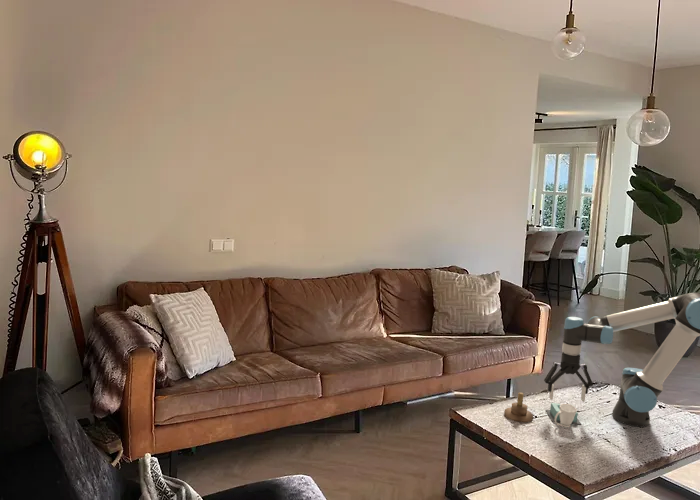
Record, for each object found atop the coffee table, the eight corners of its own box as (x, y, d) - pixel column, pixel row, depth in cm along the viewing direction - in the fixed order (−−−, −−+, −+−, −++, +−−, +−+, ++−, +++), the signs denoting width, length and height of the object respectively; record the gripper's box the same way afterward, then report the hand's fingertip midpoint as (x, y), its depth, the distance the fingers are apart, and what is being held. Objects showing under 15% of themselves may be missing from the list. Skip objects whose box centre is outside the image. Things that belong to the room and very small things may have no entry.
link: (576, 421, 254) (577, 413, 253) (555, 420, 254) (556, 411, 253) (570, 413, 262) (571, 404, 262) (549, 411, 263) (551, 402, 262)
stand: (529, 411, 262) (531, 389, 260) (535, 423, 250) (538, 400, 249) (501, 409, 263) (504, 387, 261) (507, 421, 251) (509, 397, 249)
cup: (577, 427, 249) (580, 410, 247) (559, 431, 245) (562, 415, 243) (565, 418, 255) (568, 402, 253) (547, 422, 251) (550, 406, 249)
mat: (572, 413, 264) (572, 412, 264) (581, 424, 252) (581, 423, 252) (545, 410, 265) (545, 409, 264) (552, 422, 253) (552, 421, 253)
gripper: (597, 351, 257) (593, 397, 260) (539, 348, 258) (535, 394, 261) (603, 357, 249) (599, 404, 252) (544, 353, 251) (539, 401, 254)
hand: (566, 399), depth 257 cm, fingers open, 13 cm apart
